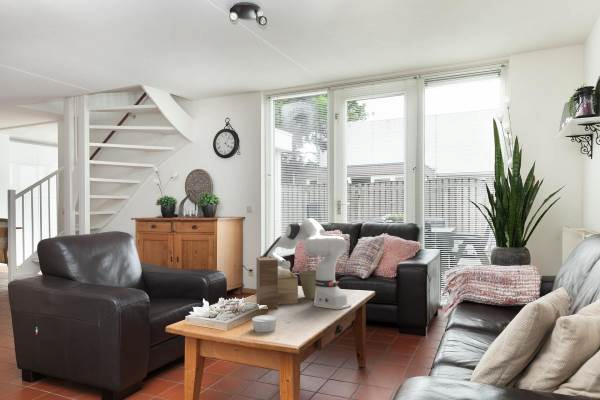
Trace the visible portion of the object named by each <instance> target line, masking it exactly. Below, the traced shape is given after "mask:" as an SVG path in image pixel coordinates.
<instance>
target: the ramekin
mask: <svg viewBox="0 0 600 400" xmlns="http://www.w3.org/2000/svg"><path fill="white" fill-rule="evenodd" d="M251 322H252V327H253V330H254V331H255V332H257V333H271V332H273V331H274V330H275V329H276V325H277V324H276V323H277V317H276V316H275V315H268V314H262V315H256V316H254V317H252V318H251Z"/></svg>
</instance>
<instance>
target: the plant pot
mask: <svg viewBox="0 0 600 400" xmlns="http://www.w3.org/2000/svg"><path fill="white" fill-rule="evenodd" d="M298 273H299V281H300V285H301V286H300V287H301V289H302V293H303V296H304V298H305V299H308V300H314V297H315V290H316V285H315V279H316V269H315V270H314V269H313V270H312V269H308V270H307V269H305V270H300V271H299V272H298Z"/></svg>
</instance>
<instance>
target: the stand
mask: <svg viewBox="0 0 600 400" xmlns="http://www.w3.org/2000/svg"><path fill="white" fill-rule="evenodd" d="M298 303H299V277H298V276H297V275H296V274H294V273H293V272H292V271H291V270H290V277H279V274H278V260H277V259H276V258H275V257H271V256H269V257H262V256H261V255H260V256H257V257H256V305H257V304H259V305H267V307H268V310H267V311H269V310H270V311H273V310H279V308H278V307H279V305H286V304H298Z"/></svg>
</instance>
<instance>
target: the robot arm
mask: <svg viewBox="0 0 600 400" xmlns="http://www.w3.org/2000/svg"><path fill="white" fill-rule="evenodd" d="M300 242H302V243H303V249H304V251H305V253H306V254H307V255H310V256H323V259H322V260H321V261H319V262H318V263H317V264H316V266H315V270H316V279H315V285H316V290H315V297H314V299H313V302H312V304H313V307H319V308H324V309H331V310H343V309H347V308H350V307H352V304H351V303H349V302H348V298H347V295H346V293H345V292H344V291H343V290H342V289H341V288H340V287H339V286H338V283H339V282H340V281H337V280H336V266H337V262H338V260H339V258H340V257H341V256H342V254H344V253H345V251H346V250H347V241H346V239H345V238H344V237H343V236H339V235H327V233H326V230H325V229H324V227H323V226H322V225H321V224H320V222H318V221H317V220H316V219H314V218H312V217H308V218H305V219H304V220H303V221H302V223H298V222H296V223H295V222H294V223H290V224H288V225H287V227H286V230H285V234H284V235H283V236H281V235H279V236H278V237H277V238H276V240H274V242H273V243H272V244H271V245H270V246H269V248H268V249H267V250H265V251H264V253H263V254H262V257H269V256H271V257H275V258H276V259H277V260H278V266H281V267H282V268H284V269H290V268H291V262H290V261H289V260H286V259H284V257H282V256H280V255H279V254H277V253H275V252H274V251H275V250H276V249H277V248H283V249H285V250H293V249H296V248H297V247H298V245H299V243H300Z"/></svg>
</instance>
